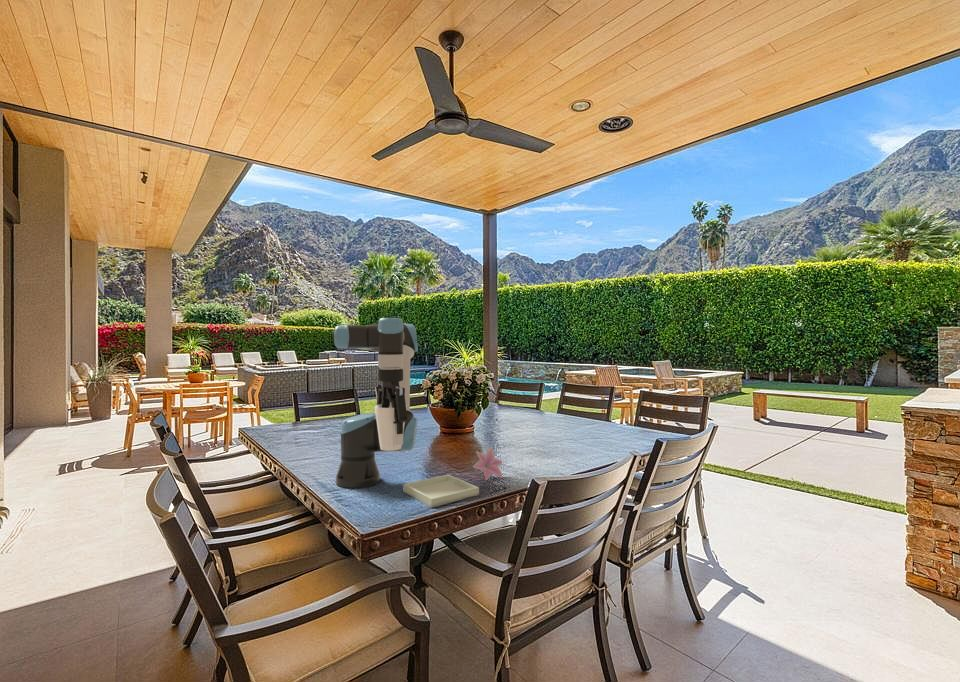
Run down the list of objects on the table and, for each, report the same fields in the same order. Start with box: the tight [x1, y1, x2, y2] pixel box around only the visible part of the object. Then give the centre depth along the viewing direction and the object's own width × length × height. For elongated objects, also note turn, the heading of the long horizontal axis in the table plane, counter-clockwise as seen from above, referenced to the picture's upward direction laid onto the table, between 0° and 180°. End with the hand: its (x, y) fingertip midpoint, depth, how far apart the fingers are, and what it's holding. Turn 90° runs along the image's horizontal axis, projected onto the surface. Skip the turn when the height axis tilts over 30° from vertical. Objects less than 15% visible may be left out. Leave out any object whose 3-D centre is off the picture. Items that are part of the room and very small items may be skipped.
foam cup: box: [374, 404, 407, 452], centre depth 141 cm, size 10×9×13 cm
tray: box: [402, 474, 480, 508], centre depth 151 cm, size 18×18×2 cm
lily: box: [472, 446, 504, 481], centre depth 170 cm, size 12×12×10 cm
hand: (391, 441), depth 141 cm, fingers closed on foam cup, 9 cm apart
